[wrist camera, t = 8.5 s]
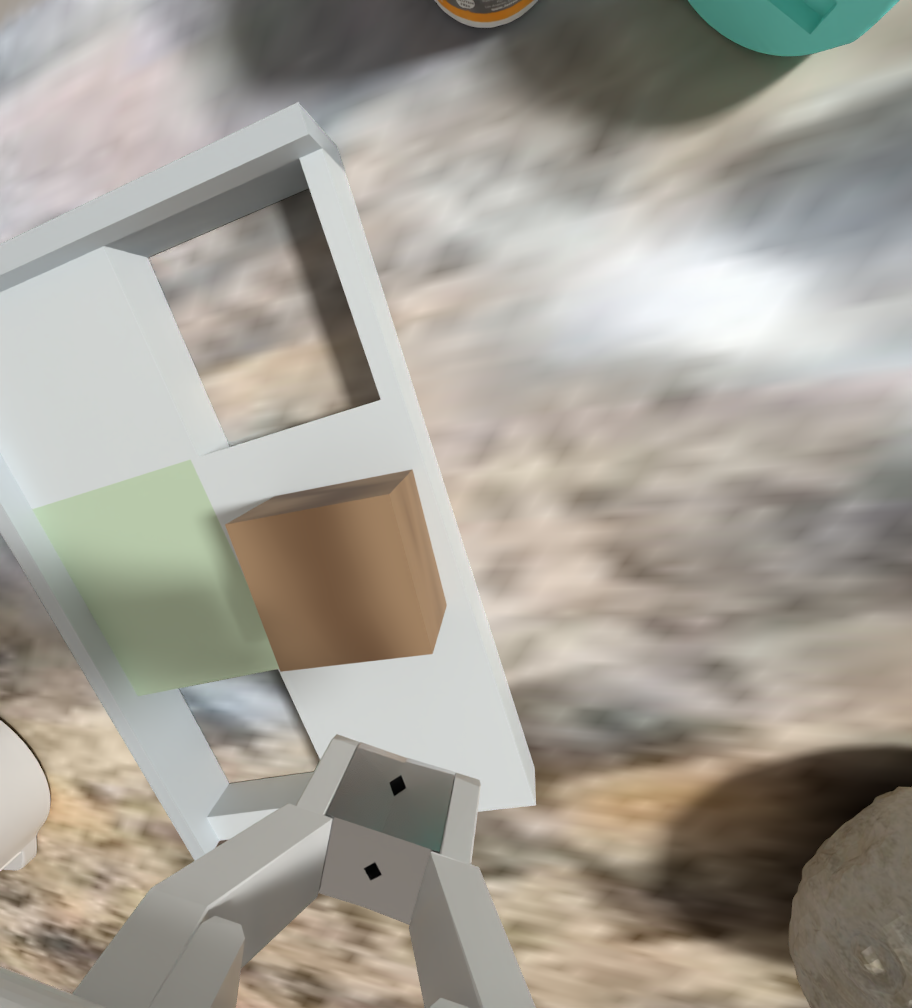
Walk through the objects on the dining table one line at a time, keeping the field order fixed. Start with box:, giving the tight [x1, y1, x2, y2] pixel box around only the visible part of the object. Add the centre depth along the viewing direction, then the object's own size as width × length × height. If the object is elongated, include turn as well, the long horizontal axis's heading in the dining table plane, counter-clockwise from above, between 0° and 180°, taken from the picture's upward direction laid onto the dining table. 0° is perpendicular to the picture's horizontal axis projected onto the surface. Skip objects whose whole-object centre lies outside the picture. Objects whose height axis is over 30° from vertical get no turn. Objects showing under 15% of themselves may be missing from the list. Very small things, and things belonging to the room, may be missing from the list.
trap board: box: [0, 102, 536, 860], centre depth 25 cm, size 22×34×4 cm, turn 17°
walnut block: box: [225, 469, 447, 672], centre depth 21 cm, size 7×7×4 cm
